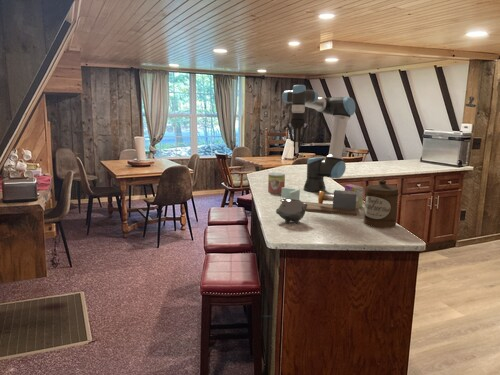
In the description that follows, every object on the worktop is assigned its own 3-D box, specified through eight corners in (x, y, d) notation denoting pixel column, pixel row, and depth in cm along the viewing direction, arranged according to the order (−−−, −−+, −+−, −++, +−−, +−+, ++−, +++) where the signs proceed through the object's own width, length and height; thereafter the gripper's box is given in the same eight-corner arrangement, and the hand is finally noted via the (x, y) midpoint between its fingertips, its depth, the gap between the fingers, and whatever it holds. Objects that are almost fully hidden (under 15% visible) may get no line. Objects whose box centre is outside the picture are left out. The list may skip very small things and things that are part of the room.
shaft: (319, 201, 220) (320, 189, 218) (358, 204, 213) (358, 192, 212) (318, 204, 213) (318, 192, 212) (357, 207, 207) (358, 194, 206)
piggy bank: (276, 218, 195) (277, 196, 193) (306, 220, 193) (307, 197, 191) (275, 224, 184) (275, 200, 182) (306, 226, 182) (308, 202, 180)
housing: (333, 205, 218) (334, 190, 217) (355, 207, 215) (357, 191, 213) (332, 209, 210) (333, 192, 209) (355, 210, 207) (356, 194, 205)
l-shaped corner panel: (281, 199, 243) (282, 187, 242) (299, 201, 237) (299, 189, 236) (272, 202, 233) (273, 190, 232) (290, 205, 227) (291, 192, 226)
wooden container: (357, 223, 188) (360, 179, 184) (372, 218, 198) (376, 176, 194) (386, 230, 177) (390, 183, 173) (401, 224, 188) (405, 179, 184)
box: (343, 204, 230) (344, 184, 227) (351, 203, 232) (353, 184, 229) (354, 208, 220) (355, 187, 218) (362, 207, 222) (363, 187, 220)
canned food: (266, 192, 260) (266, 175, 258) (269, 189, 271) (270, 172, 269) (283, 193, 258) (283, 175, 255) (285, 190, 268) (286, 173, 266)
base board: (294, 203, 229) (294, 201, 228) (357, 208, 218) (358, 206, 218) (289, 209, 214) (289, 207, 213) (356, 215, 203) (357, 212, 203)
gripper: (285, 112, 222) (284, 153, 227) (308, 112, 219) (306, 154, 223) (288, 112, 229) (287, 152, 234) (310, 112, 226) (308, 153, 230)
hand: (296, 153), depth 228 cm, fingers closed
